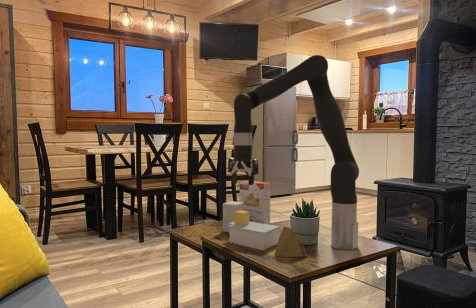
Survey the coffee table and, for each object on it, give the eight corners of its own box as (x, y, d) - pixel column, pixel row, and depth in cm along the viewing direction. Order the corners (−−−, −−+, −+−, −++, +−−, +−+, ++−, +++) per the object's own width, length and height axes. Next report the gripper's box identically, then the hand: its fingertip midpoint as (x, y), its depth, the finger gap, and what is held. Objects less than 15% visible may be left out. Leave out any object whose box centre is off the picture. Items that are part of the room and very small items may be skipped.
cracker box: (238, 224, 179) (239, 181, 178) (246, 222, 184) (246, 179, 183) (263, 229, 171) (263, 183, 170) (270, 226, 176) (270, 182, 175)
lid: (279, 231, 148) (280, 213, 147) (264, 237, 138) (264, 219, 138) (239, 224, 159) (239, 208, 159) (222, 229, 150) (222, 212, 149)
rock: (313, 247, 135) (289, 239, 141) (309, 232, 130) (284, 224, 136) (299, 271, 129) (274, 261, 135) (294, 256, 124) (269, 247, 130)
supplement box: (244, 230, 169) (245, 202, 168) (236, 233, 162) (236, 204, 162) (230, 228, 172) (231, 200, 172) (222, 231, 166) (222, 203, 165)
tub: (278, 243, 148) (278, 228, 148) (264, 250, 139) (264, 234, 139) (245, 237, 157) (245, 222, 157) (229, 243, 148) (229, 228, 148)
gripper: (262, 144, 150) (262, 184, 150) (235, 143, 159) (235, 181, 160) (250, 144, 144) (250, 186, 145) (223, 143, 153) (223, 183, 154)
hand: (242, 184), depth 152 cm, fingers open, 8 cm apart
